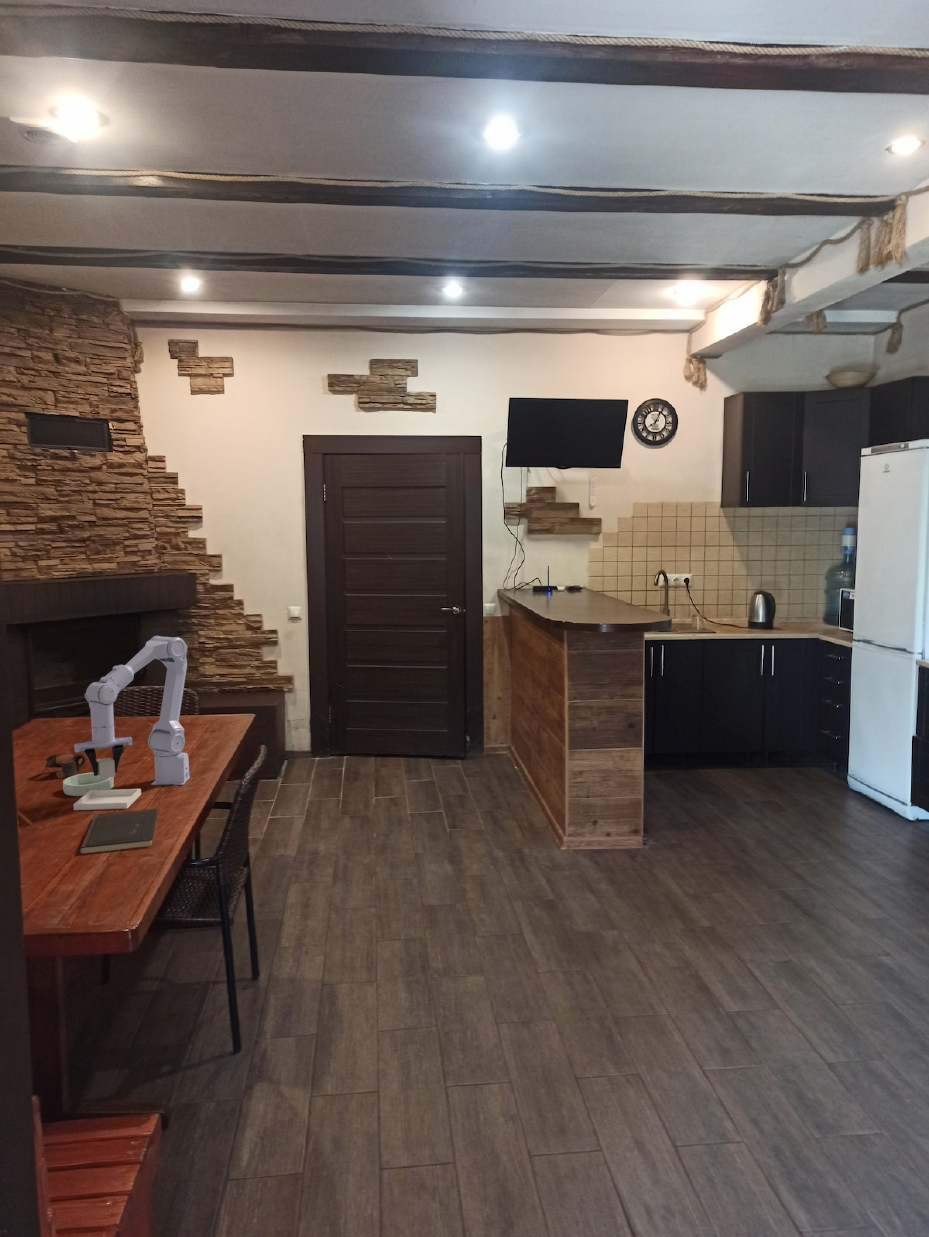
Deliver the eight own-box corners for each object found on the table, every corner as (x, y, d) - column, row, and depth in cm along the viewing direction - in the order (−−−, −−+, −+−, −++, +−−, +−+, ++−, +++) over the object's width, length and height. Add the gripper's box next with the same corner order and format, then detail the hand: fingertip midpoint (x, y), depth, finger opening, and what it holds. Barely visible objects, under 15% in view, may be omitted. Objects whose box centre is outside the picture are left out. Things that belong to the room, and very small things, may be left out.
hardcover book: (158, 816, 216) (158, 808, 216) (152, 848, 194) (152, 839, 194) (93, 823, 212) (93, 814, 211) (79, 856, 190) (79, 846, 189)
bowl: (119, 782, 244) (118, 771, 243) (103, 796, 231) (103, 784, 231) (74, 784, 243) (74, 772, 242) (56, 798, 230) (55, 786, 230)
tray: (141, 796, 231) (140, 788, 231) (127, 810, 219) (126, 802, 219) (90, 797, 230) (90, 790, 230) (73, 812, 218) (73, 804, 218)
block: (115, 776, 225) (114, 760, 224) (99, 779, 222) (99, 763, 222) (110, 773, 228) (110, 757, 227) (95, 776, 225) (94, 760, 225)
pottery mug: (47, 782, 246) (40, 757, 248) (53, 787, 255) (46, 763, 257) (89, 768, 251) (81, 743, 253) (93, 773, 259) (86, 749, 261)
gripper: (128, 719, 231) (130, 766, 232) (72, 726, 223) (75, 774, 225) (132, 724, 225) (135, 772, 226) (75, 731, 217) (77, 780, 219)
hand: (105, 773), depth 225 cm, fingers closed on block, 4 cm apart
